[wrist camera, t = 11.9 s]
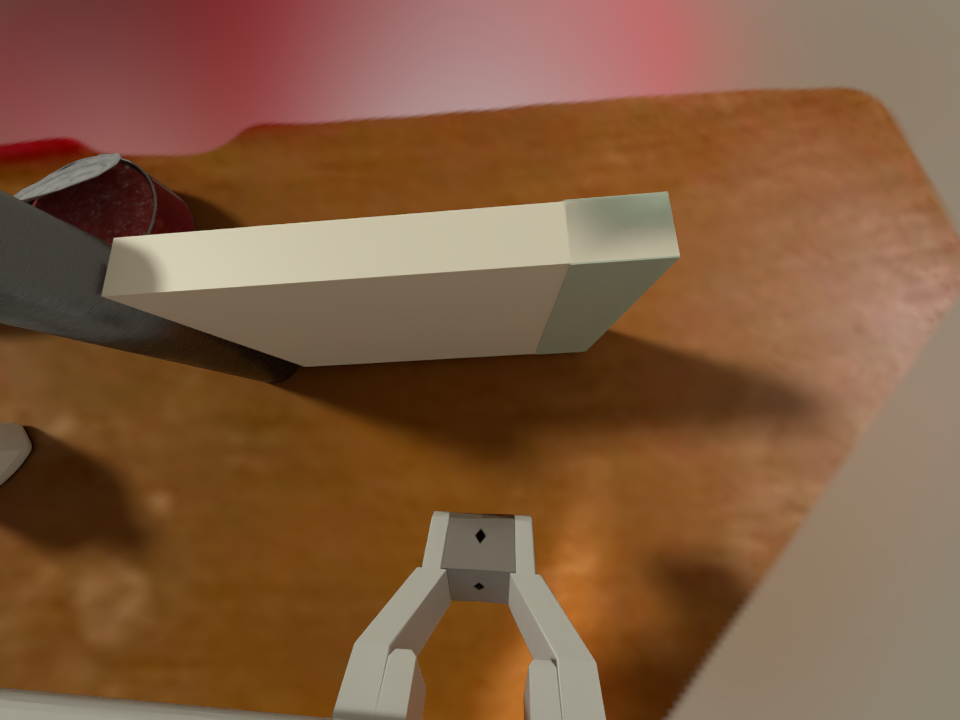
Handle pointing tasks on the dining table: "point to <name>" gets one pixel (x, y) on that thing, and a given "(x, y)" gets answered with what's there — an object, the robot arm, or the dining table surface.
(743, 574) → the dining table surface
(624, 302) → the cream flat block
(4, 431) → the eye dropper bottle
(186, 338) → the hinge post
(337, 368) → the dining table surface
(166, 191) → the canned food
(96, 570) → the dining table surface
